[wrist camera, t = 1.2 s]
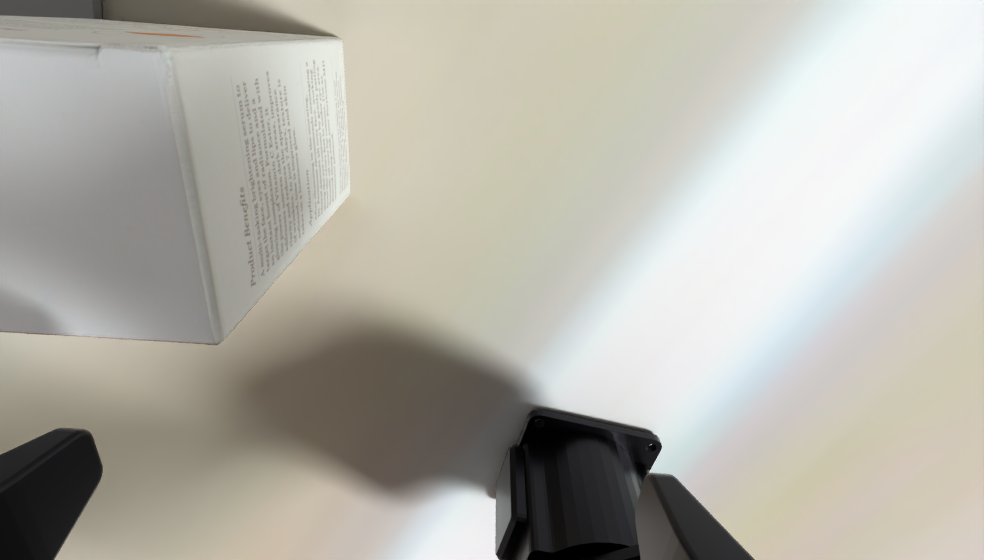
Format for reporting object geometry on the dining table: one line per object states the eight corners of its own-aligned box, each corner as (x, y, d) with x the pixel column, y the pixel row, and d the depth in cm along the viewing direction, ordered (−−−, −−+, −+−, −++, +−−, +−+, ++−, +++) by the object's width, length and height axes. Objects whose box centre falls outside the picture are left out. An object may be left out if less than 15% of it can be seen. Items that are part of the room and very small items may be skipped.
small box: (142, 181, 19) (-198, 328, 10) (104, 15, 17) (-399, -2, 7) (355, 197, 20) (221, 356, 10) (348, 35, 17) (162, 44, 8)
